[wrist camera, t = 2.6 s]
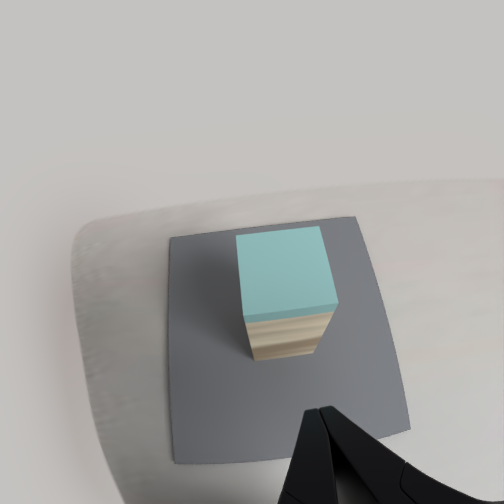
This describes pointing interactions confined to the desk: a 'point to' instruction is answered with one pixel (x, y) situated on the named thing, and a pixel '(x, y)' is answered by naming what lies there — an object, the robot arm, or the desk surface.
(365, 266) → the rubber mat
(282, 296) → the birch block
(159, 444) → the desk surface
